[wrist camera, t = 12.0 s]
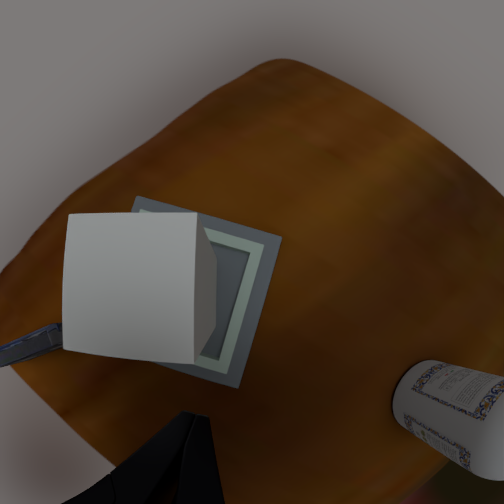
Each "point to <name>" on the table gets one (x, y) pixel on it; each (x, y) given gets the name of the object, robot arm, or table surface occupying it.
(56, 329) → the mini dv tape
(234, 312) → the base plate
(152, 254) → the white post
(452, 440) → the bath foam
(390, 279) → the table surface
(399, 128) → the table surface
